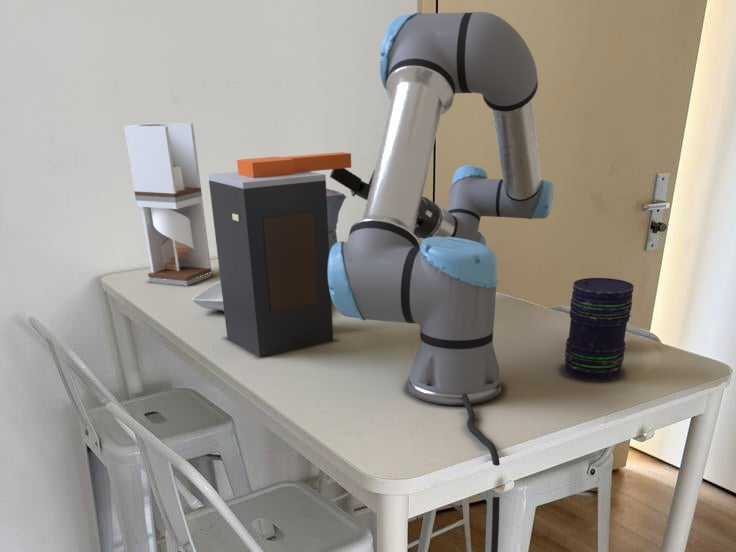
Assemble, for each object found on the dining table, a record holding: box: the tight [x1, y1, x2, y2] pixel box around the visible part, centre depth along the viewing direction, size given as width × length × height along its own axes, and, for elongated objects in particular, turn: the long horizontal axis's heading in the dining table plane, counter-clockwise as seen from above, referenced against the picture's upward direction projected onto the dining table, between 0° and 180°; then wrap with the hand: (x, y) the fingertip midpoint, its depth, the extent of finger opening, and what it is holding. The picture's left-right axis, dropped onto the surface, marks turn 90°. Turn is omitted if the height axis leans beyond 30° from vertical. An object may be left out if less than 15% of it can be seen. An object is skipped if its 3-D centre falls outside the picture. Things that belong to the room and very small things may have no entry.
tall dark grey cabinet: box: [207, 171, 334, 358], centre depth 144 cm, size 16×14×30 cm
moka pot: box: [326, 188, 347, 253], centre depth 207 cm, size 10×15×20 cm, turn 78°
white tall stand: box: [123, 122, 213, 287], centre depth 186 cm, size 11×11×35 cm
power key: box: [236, 151, 352, 178], centre depth 139 cm, size 21×6×2 cm, turn 125°
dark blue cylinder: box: [563, 277, 635, 383], centre depth 130 cm, size 10×10×15 cm
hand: (352, 173), depth 146 cm, fingers open, 13 cm apart
